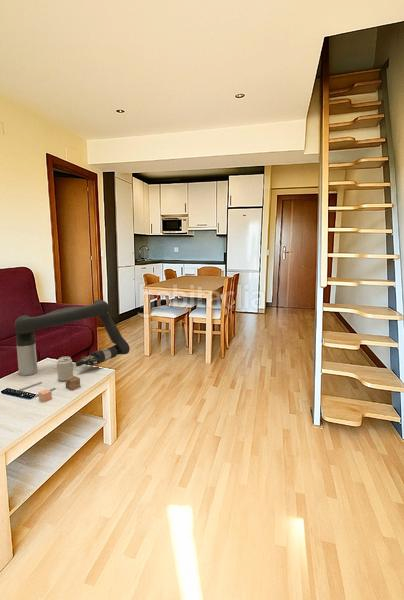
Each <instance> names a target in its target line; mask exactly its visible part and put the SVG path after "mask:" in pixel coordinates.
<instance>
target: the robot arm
mask: <svg viewBox="0 0 404 600" xmlns="http://www.w3.org/2000/svg"><path fill="white" fill-rule="evenodd" d="M110 310H111V308H110V305H109V303H108V302H106V301H105V300H104V299H103V300H102V299H96V300H95V301H94V302H93V304H89V305H86V306H84V305H83V306H69V307H67V306H66V307H63V308H58V309H55V310H52V311H49V312H47V313H46V314H42V315H38V316H32V317H31V316H29V315H28V314H27V315H26V314H25V315H23V314H22V315H20V316H18V317H17V318H16V319H15V322H14V329H15V340H16V341H15V343H16V353H17V367H18V375H19V376H22V377H23V376H24V377H27V376H33V375H35V374H37V373H38V359H37V348H36V347H37V346H36V334H35V331H36V332H37V331H39V330H42V329H46V328H51V327H56V326H62V325H66V324H71V323H74V322H79V321H82V320H84V319H89V318H96V317H98V319H99V320H100V321H101V323H102V325H103V326H104V329H105V331H106V333H107V335H108V337H109V339H110V341H111V343H112V344H114V345H112V346H109V347H106V348H102V349H99V350H96V351H93V352H92V354H91V355H87V356H85V355H83V356H82V357H81V358H80V360H79V361H76V362H75V366H76V367H81V366H92V365H99V364H101V363H104V362H107V361H109V360H112V359H113V358H116V357H117V356H119V355H128V354H129V353H130V349H131V348H130V345H129V343H128V342H127V340H125V338H124V337H123V336H122V334H121V332H120V331H119V328H118V327H117V325H116V323H115V322H114V320H113V319H112V317H111V315H110V313H109V312H110Z"/></svg>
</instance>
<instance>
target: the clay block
mask: <svg viewBox="0 0 404 600" xmlns="http://www.w3.org/2000/svg"><path fill="white" fill-rule="evenodd" d="M37 393H38V394H39V396H38V401H40V402H42V403H46V402H47V401H50V400H53V396H52V391H50V389H47V388H46V389H43V390H40V391H38V392H37Z"/></svg>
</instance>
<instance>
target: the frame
mask: <svg viewBox="0 0 404 600" xmlns="http://www.w3.org/2000/svg"><path fill="white" fill-rule="evenodd" d="M40 384H43V382H42V381H39V382H36V383H33V384H31V385H28V386H25V387H22V388H20V389H19V388H18V390H19V391H23V392H26V391H25V390H28V389H30V388H33V387H36V386H37V385H40ZM56 389H57V388H56V387H53V388H50V389H49V390H50V391H51V392H52V391H55V390H56ZM19 391H18V392H19ZM34 395H35V396H34ZM34 395H33V396H34V397H35V398H37V397H39V394H37V393H36V394H34ZM34 397H32V398H31V399H34Z"/></svg>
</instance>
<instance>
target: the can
mask: <svg viewBox="0 0 404 600" xmlns="http://www.w3.org/2000/svg"><path fill="white" fill-rule="evenodd" d="M56 367H57V379H58V380H59V381H60V382H65V379H67V378H69V377H72V376H74V369H73V359H72V358H71V356H60V357H59V358H58V360H57V361H56Z"/></svg>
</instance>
